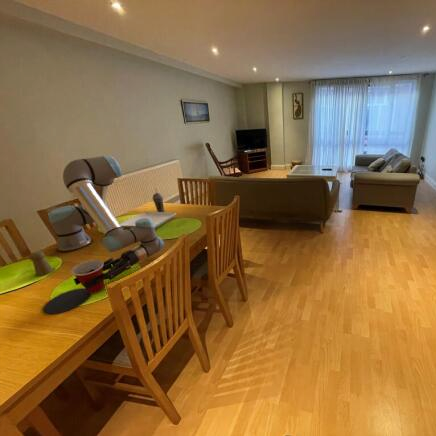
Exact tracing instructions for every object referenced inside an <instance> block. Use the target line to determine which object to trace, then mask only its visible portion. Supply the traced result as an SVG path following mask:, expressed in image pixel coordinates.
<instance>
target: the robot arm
mask: <svg viewBox="0 0 436 436" xmlns="http://www.w3.org/2000/svg"><path fill="white" fill-rule="evenodd" d="M62 172H63V174H62V181H63V184H64V186H65V188H66V189H67V190H68V192H69V193H71V194H74V196H75V197H76V198H77V200H78V201H79V202H80V204H81V205H78V206H74V205H64V206H60V207H57V208H54V209H53V210H51V211H49V213H48V220H49V223H50V224H51V226H52V228H53V230H54V233H55V235H56V238H57V239H56V246H57V250H58V251H59V252H72V251H76V250H80V249H82V248H85V247H87V246H89V245H90V244H91V243H92V239H91V237H90V236H89V235H88V234H87V233H86V232H85V231H84V229H83V226H86V225H90V224H92V223H95V225H96V226H97V227H98V228H99V231H101V233H102V234H103V235H104V237H103V239H102V244H103V246H104V248H105V249H106V250H107V251H108V252H110V253H113V252H117V251H120V250H123V249H124V248H128V247H129V246H131V245H133V244H136V243H138V242H140V244H138V245H136V246H133V247H132V248H130V249H128V250H127V251H124V252H122V253H121V255H120V257H118V258H115V259H114V257H110V258H108V259H107V260H104V261H103V263H104V265H103V273H102V274H103V276H102V274H101V275H99V276H97V277H95V278H93V279H91V280H89V281H87V282H85V283H84V285H85V287H86V289H88V288H90V287H92V286H94V285H96V284H98V283H100V282H101V281H103V280H104V281H107V280H108V281H112V280H113V279H115V278H117V277H118V276H120V275H122V274H123V273H124V272H127V271H128V270H131V269H132V267H133V266H135V265H136V264H138V263H141V262H143V260H146V259H147V258H150V257H151V256H153V255H155V254H157V253H159V252H160V251H162V250H163V249H164V248H165V242H164V241H163V238H161V237H160V236H157V233H156V228H154V224H153V222H152V220H151V219H149V218H143V219H139V220H138V221H136V222H135V224H136V225H135V227H132V228H126V229H125V228H122V227H121V225H120V223H119V221H118V219H116V217H115V216H114V214H113V213H112V212H111V210H110V207H109V205H108V204H107V203H106V198H107V195H108V191H109V188H110V186H111V185H113V184H114V182H115V179H118V178H121V177H122V176H123V175H122V169H121V167H120V164H119V162H118V161H117V160H116V158H114V157H113V156H111V155H102V156H101V155H100V156H96V157H94V156H93V157H87V158H78V159H73V160H71V161H70V162H69V163H67V164H66V166H65V167H64V169H63V171H62ZM94 270H95V269H94ZM94 270H90V271H89V272H87V273H90V272H93V271H94ZM105 271H106V272H105ZM87 273H85V274H87ZM73 281H74V283H75V285H76V286H78V285H79V284H81V282H80V281H79V280H78V279H77V278H76V277H74V279H73ZM85 287H84V288H85Z"/></svg>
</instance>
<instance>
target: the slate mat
mask: <svg viewBox="0 0 436 436" xmlns="http://www.w3.org/2000/svg"><path fill="white" fill-rule="evenodd" d="M91 295H92V293H89V292H88V291H87V290H86V289H85V287H83V288H75V289H70V290H68V291H66V292H63V293H60V294H59V295H56V296H55V297H53V298H51V299H50V300H49V301H48V302H47V303H45V304H44V306H43V309H42V311H43V313H44V314H47V315H59V314H62V313H65V312H68V311H71V310H73V309H76V308H77V307H79V306H81V305H82V304H84V303H85V302H86V301H87V300H89V298H90V297H91Z"/></svg>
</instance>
